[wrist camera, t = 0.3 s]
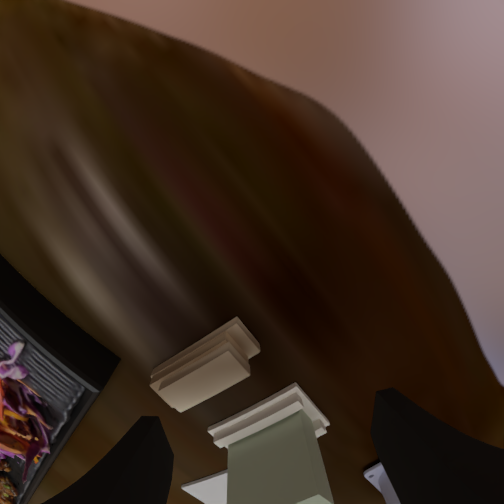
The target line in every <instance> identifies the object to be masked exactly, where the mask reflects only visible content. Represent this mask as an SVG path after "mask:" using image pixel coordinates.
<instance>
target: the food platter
mask: <svg viewBox="0 0 504 504" xmlns="http://www.w3.org/2000/svg"><path fill="white" fill-rule="evenodd" d="M120 360H121V359H120V358H119V357H118V356H116V355H115V354H114V353H112V352H111V351H110V350H108V349H107V348H106V347H104V346H103V345H102V344H100V343H99V342H98V341H96V340H95V339H94V338H92V337H91V336H90V335H89V334H87V333H86V332H85V331H84V330H82V329H81V328H80V327H79V326H77V325H76V324H75V323H74V322H73V321H71V320H70V319H69V318H68V317H67V316H65V315H64V314H63V313H62V312H61V311H60V310H58V309H57V308H56V307H55V306H54V305H53V304H52V303H50V302H49V301H48V300H47V299H46V298H45V297H44V296H43V295H41V294H40V293H39V292H38V291H37V290H36V289H35V288H34V287H33V286H32V285H31V284H30V283H29V282H28V281H27V280H26V279H24V278H23V277H22V276H21V275H20V274H19V273H18V272H17V271H16V270H15V269H14V268H13V267H12V266H11V265H10V264H9V263H8V262H7V261H6V259H5V258H4V257H3V256H2V255H1V254H0V504H27V503H28V502H29V500H30V498H31V497H32V495H33V494H34V492H35V490H36V489H37V487H38V486H39V484H40V483H41V481H42V479H43V478H44V476H45V475H46V473H47V472H48V470H49V468H50V467H51V465H52V464H53V462H54V461H55V459H56V458H57V456H58V455H59V453H60V452H61V450H62V449H63V447H64V446H65V444H66V443H67V441H68V440H69V438H70V437H71V435H72V434H73V432H74V431H75V429H76V428H77V426H78V425H79V423H80V422H81V420H82V419H83V417H84V416H85V414H86V413H87V412H88V410H89V409H90V407H91V406H92V404H93V403H94V401H95V400H96V398H97V397H98V396H99V394H100V393H101V391H102V390H103V388H104V387H105V385H106V383H107V382H108V380H109V378H110V377H111V375H112V373H113V371H114V370H115V368H116V366H117V365H118V363H119V361H120ZM55 405H56V406H55ZM47 406H48V407H47ZM48 408H49V409H48ZM28 412H29V413H28ZM30 421H31V422H30ZM40 428H41V429H40Z"/></svg>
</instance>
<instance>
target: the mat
mask: <svg viewBox="0 0 504 504" xmlns="http://www.w3.org/2000/svg"><path fill="white" fill-rule="evenodd" d="M227 471H228V469H227V470H224V471H221V472H219V473H216V474H213V475H210V476H207V477H205V478H202V479H199V480H196V481H192V482H189V483H186V484H183V485H182V486H181V488H182V489H183V490H185V491H186V492H188V493H189V494H191V495H193V496H194V497H196V498H197V499H199V500H200V501H202V502H204V503H205V504H227Z"/></svg>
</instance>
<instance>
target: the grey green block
mask: <svg viewBox="0 0 504 504" xmlns="http://www.w3.org/2000/svg"><path fill="white" fill-rule="evenodd" d="M227 504H334V501H333V498H332V494H331V490H330V486H329V483H328V479H327V475H326V471H325V468H324V464H323V460H322V457H321V453H320V449H319V445H318V442H317V438H316V434H315V431H314V427H313V423H312V420H311V418H310V417H309V416H308V415H307V414H306V413H305V412H304V411H303V410H302V409H301V410H299V411H297V412H295V413H293V414H291V415H289V416H288V417H286V418H284V419H282V420H280V421H278V422H276V423H274V424H272V425H270V426H268V427H266V428H264V429H262V430H260V431H257V432H255V433H253V434H251V435H249V436H247V437H245V438H242V439H240V440H238V441H236V442H233V443H231V444H229V445H228V471H227Z"/></svg>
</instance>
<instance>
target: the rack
mask: <svg viewBox="0 0 504 504" xmlns="http://www.w3.org/2000/svg"><path fill="white" fill-rule="evenodd" d="M301 409H302V410H303V411H304V412H305V413H306V414H307V415H308V416H309V417H310V418H311V420H312V423H313V427H314V431H315V434H316V438H318V437H320V436H321V435H323V434H325V433H327V431H326V428H325V427H326V426H328V425H330V423H329V420H328V419H327V418H326V417H325V416H324V415H323V413H322V412H321V411H320V410H319V409H318V408H317V407H316V405H315V404H314V403H313V402H312V401H311V400H310V398H309V397H308V396H307V395H306V394H305V392H304V391H303V390H302V389H301V388H300V387H299V385H298V384H297V383H296V382H295V383H293V384H291V385H289V386H288V387H286V388H284V389H282V390H281V391H279V392H277V393H275V394H273V395H271V396H270V397H268V398H266V399H264V400H262V401H260V402H258V403H256V404H255V405H253V406H251V407H249V408H247V409H245V410H243V411H241V412H239V413H237V414H235V415H233V416H231V417H229V418H227V419H225V420H222V421H220V422H218V423H216V424H214V425H212V426H210V427H208V432H209V433H210V434H211V435H212V436H213V437H214V441H213V443H215V444H216V445H217V446H218V447H219V448H222V447H224V446H225V447H226V448H227V449H228V445H229V444H231V443H233V442H236V441H238V440H240V439H242V438H245V437H247V436H249V435H251V434H253V433H255V432H257V431H260V430H262V429H264V428H266V427H268V426H270V425H272V424H274V423H276V422H278V421H280V420H282V419H284V418H286V417H288V416H289V415H291V414H293V413H295V412H297V411H299V410H301Z"/></svg>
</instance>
